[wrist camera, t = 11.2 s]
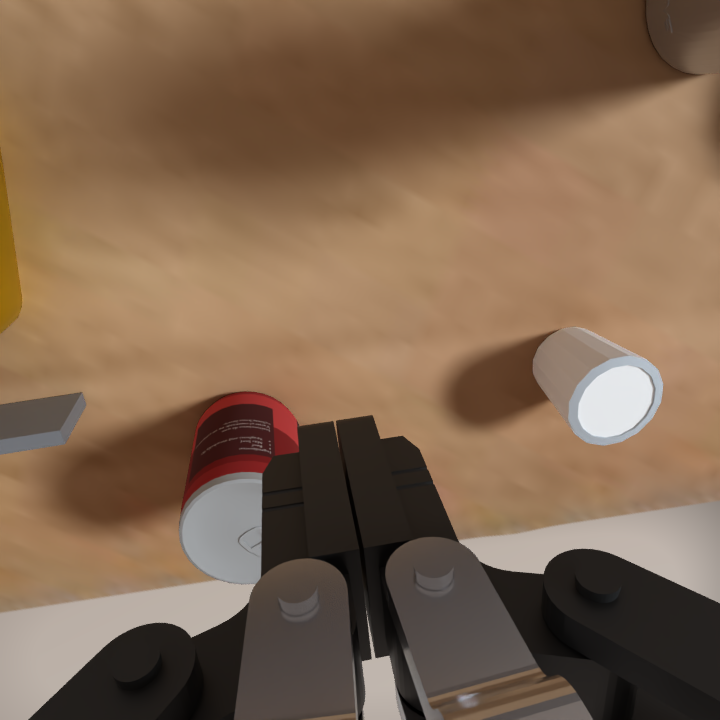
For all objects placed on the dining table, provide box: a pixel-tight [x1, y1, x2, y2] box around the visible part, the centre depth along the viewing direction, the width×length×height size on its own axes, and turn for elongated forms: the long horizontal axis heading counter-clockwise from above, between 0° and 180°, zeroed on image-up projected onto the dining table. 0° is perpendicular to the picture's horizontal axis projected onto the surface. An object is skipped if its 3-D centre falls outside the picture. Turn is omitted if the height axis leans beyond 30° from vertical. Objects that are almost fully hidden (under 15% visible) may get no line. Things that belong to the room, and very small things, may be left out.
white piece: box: [533, 327, 663, 445], centre depth 42 cm, size 7×7×7 cm
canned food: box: [179, 392, 299, 584], centre depth 38 cm, size 8×8×11 cm
